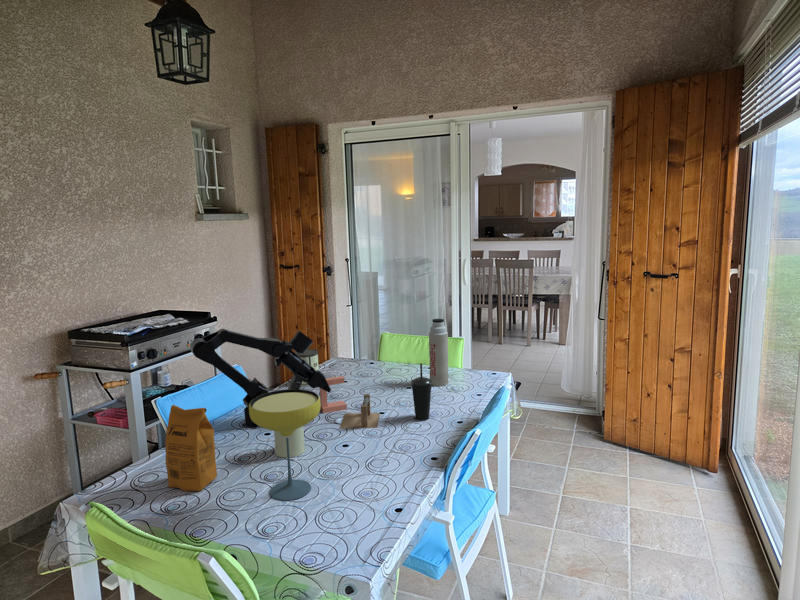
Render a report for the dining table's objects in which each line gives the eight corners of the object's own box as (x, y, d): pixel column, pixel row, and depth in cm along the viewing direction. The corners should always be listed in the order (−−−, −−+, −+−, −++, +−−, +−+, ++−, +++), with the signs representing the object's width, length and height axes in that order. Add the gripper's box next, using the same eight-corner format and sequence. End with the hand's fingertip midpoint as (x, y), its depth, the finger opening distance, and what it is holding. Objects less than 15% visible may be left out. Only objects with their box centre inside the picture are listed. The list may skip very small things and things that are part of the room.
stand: (339, 430, 180) (338, 407, 179) (344, 414, 194) (343, 393, 193) (377, 429, 180) (376, 406, 179) (380, 414, 194) (379, 393, 193)
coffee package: (187, 471, 153) (180, 398, 150) (223, 477, 149) (216, 402, 146) (161, 488, 144) (153, 410, 141) (198, 495, 140) (191, 415, 137)
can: (275, 459, 159) (273, 421, 158) (274, 447, 168) (271, 411, 166) (306, 455, 162) (304, 417, 160) (303, 443, 171) (301, 407, 169)
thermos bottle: (435, 387, 223) (434, 321, 218) (426, 382, 230) (425, 318, 225) (451, 384, 226) (451, 319, 222) (442, 379, 233) (441, 316, 229)
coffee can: (299, 379, 239) (298, 349, 237) (322, 379, 238) (320, 348, 236) (293, 386, 229) (291, 354, 227) (316, 386, 228) (314, 354, 226)
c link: (323, 413, 195) (321, 382, 193) (319, 409, 199) (318, 378, 198) (346, 409, 198) (345, 378, 197) (342, 405, 203) (341, 375, 201)
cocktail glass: (242, 491, 141) (235, 401, 137) (300, 467, 154) (294, 384, 150) (279, 517, 128) (272, 418, 125) (338, 489, 141) (334, 398, 137)
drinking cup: (431, 422, 185) (430, 366, 182) (409, 421, 186) (408, 366, 183) (434, 414, 192) (433, 360, 189) (413, 413, 194) (412, 360, 190)
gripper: (275, 377, 199) (306, 401, 204) (285, 386, 182) (319, 412, 187) (294, 353, 202) (325, 378, 207) (306, 360, 185) (339, 387, 190)
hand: (326, 389), depth 198 cm, fingers open, 9 cm apart
